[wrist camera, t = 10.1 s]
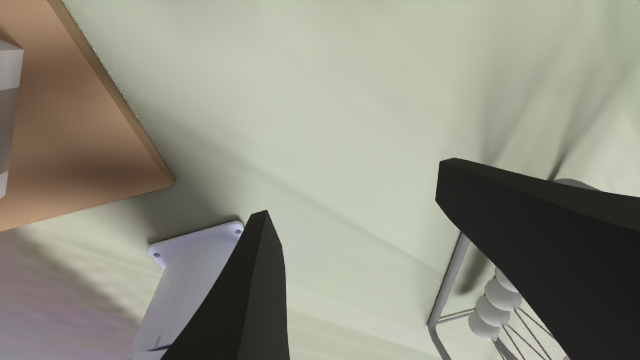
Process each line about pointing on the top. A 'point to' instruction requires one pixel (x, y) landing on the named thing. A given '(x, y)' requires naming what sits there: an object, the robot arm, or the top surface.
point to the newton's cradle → (486, 301)
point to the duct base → (63, 122)
